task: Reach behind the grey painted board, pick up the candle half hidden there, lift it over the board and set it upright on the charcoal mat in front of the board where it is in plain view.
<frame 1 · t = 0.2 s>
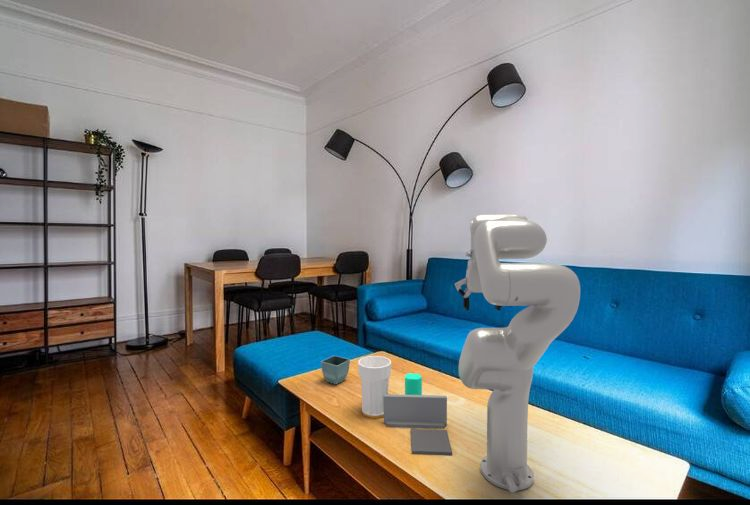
hand: (482, 309, 111), 36 cm above the table, tool pointing down, fingers open, 9 cm apart
mat: (430, 442, 102), on the table
flower pot: (335, 382, 144), on the table
candle: (413, 405, 124), on the table
cup: (375, 411, 120), on the table
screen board: (414, 423, 112), on the table
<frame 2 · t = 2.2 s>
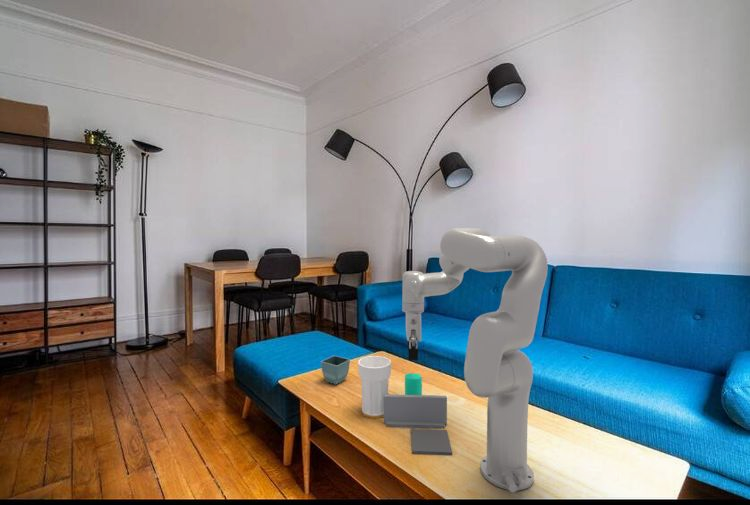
hand: (412, 354, 123), 18 cm above the table, tool pointing down, fingers open, 9 cm apart
nothing on the table moved.
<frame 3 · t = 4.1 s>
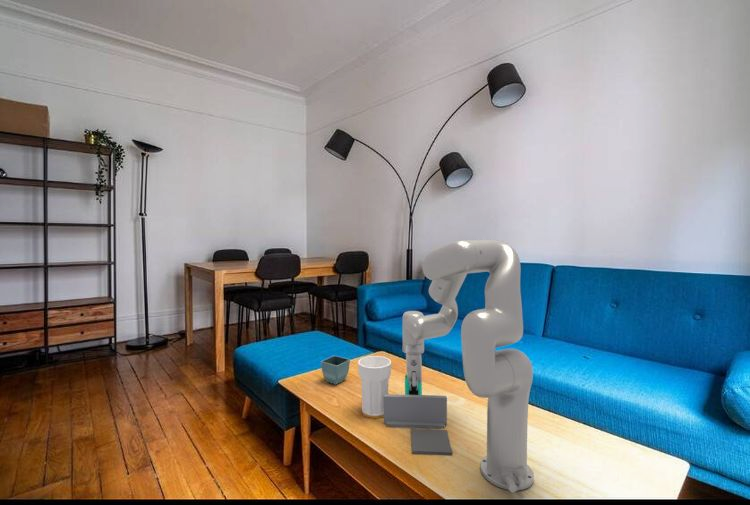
hand: (413, 396, 124), 3 cm above the table, tool pointing down, fingers closed on candle, 4 cm apart
candle: (413, 405, 124), on the table, touching gripper
everything else where it was.
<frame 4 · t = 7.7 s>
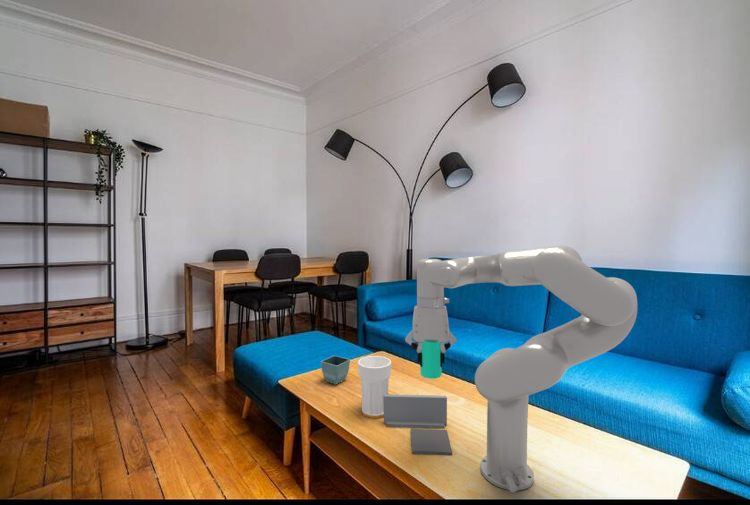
hand: (430, 364, 101), 23 cm above the table, tool pointing down, fingers closed on candle, 4 cm apart
candle: (431, 375, 101), point 20 cm above the table, touching gripper
everything else where it was.
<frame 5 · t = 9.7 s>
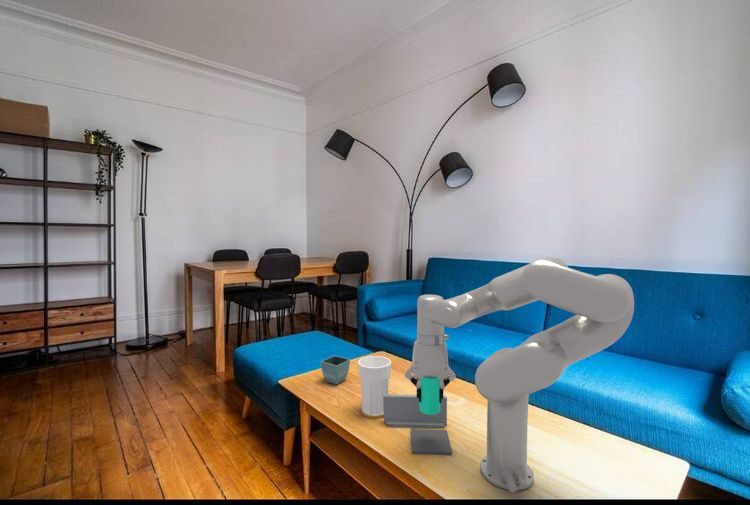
hand: (429, 399, 101), 13 cm above the table, tool pointing down, fingers closed on candle, 4 cm apart
candle: (429, 410, 101), point 10 cm above the table, touching gripper
everything else where it was.
when the fingers open (5 cm above the table, at t = 11.6 s): candle drops 1 cm, resting on mat.
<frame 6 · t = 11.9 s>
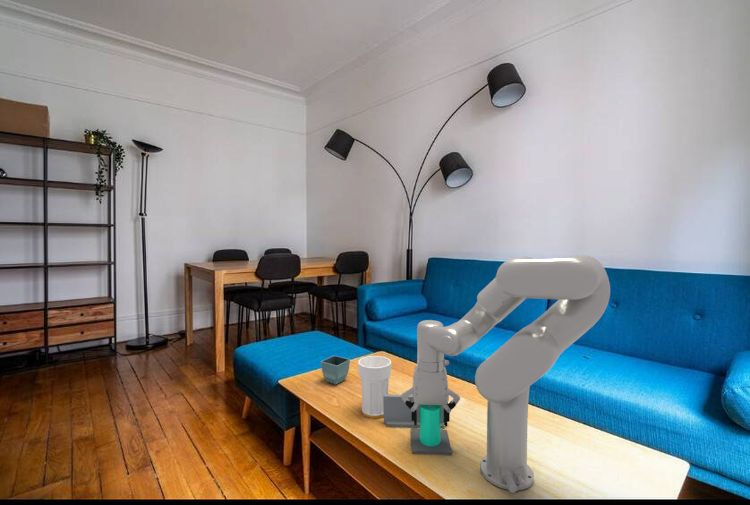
hand: (430, 423, 102), 6 cm above the table, tool pointing down, fingers open, 8 cm apart
candle: (430, 440, 102), point 1 cm above the table, touching mat
everything else where it was.
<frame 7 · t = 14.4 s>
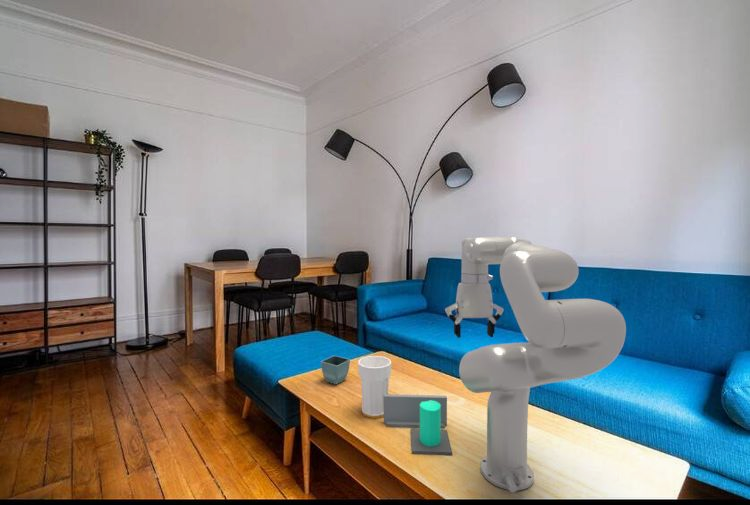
hand: (474, 336, 104), 30 cm above the table, tool pointing down, fingers open, 9 cm apart
nothing on the table moved.
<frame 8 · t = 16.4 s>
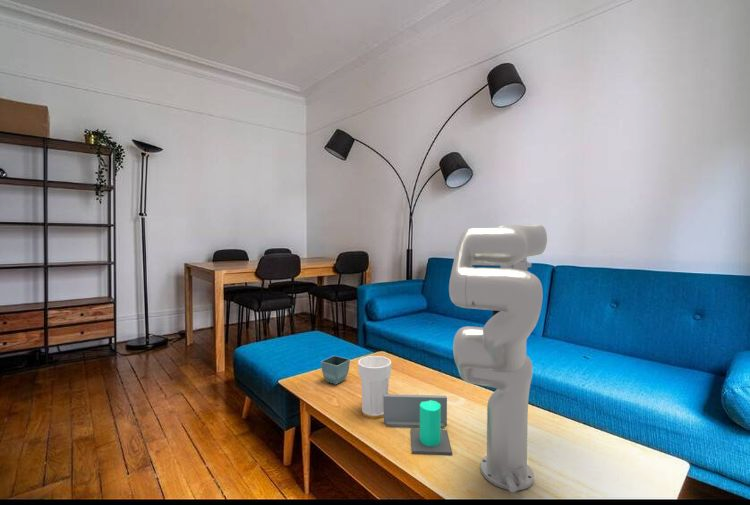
hand: (512, 321, 108), 33 cm above the table, tool pointing down, fingers open, 9 cm apart
nothing on the table moved.
at the end: candle inside the target area on the mat (0.2 cm from its centre), point 0.6 cm above the mat's base; candle tilted 0°; the gripper is holding nothing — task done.
